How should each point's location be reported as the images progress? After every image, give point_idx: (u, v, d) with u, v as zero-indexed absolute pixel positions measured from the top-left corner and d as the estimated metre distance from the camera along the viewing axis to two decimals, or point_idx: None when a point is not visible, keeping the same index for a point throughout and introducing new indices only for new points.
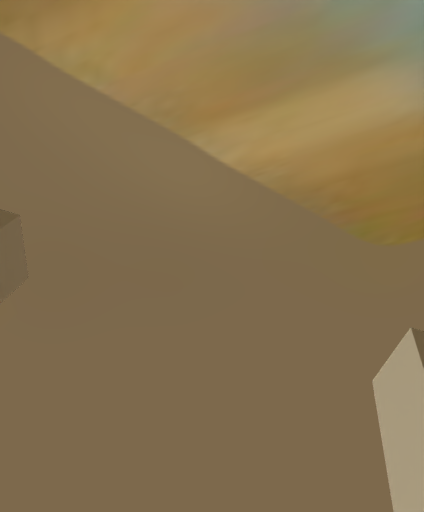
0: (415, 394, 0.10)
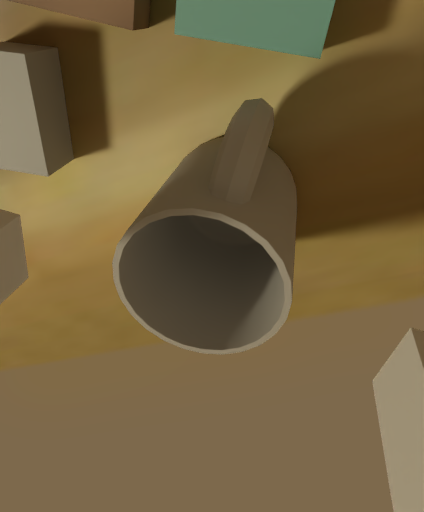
0: (415, 394, 0.10)
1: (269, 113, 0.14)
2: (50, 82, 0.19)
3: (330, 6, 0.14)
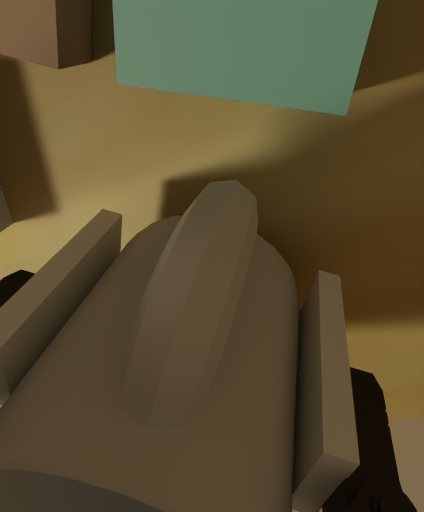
0: (312, 321, 0.12)
1: (244, 227, 0.07)
2: None
3: (363, 34, 0.08)
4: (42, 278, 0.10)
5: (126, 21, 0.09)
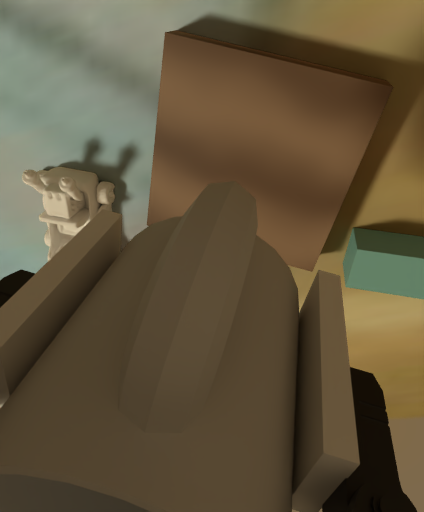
0: (312, 321, 0.12)
1: (243, 229, 0.07)
2: None
3: None
4: (42, 278, 0.10)
5: (356, 270, 0.24)
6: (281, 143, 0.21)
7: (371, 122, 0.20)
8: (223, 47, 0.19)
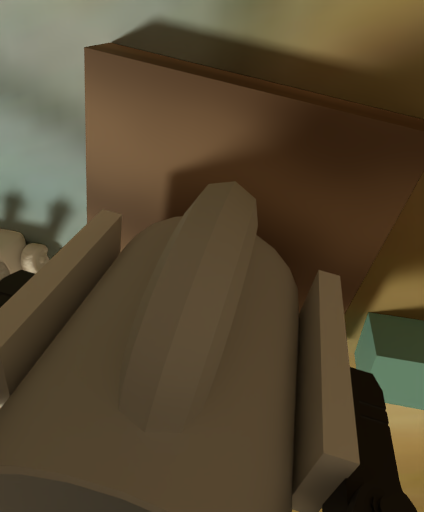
0: (312, 321, 0.12)
1: (243, 229, 0.07)
2: None
3: None
4: (42, 278, 0.10)
5: None
6: (267, 210, 0.14)
7: (405, 186, 0.13)
8: (174, 71, 0.12)
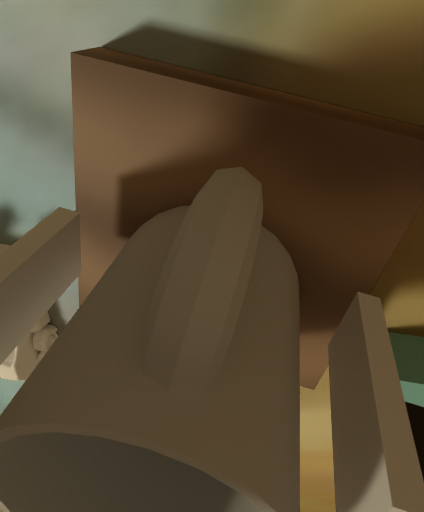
0: (355, 348, 0.11)
1: (253, 207, 0.08)
2: None
3: None
4: None
5: None
6: (266, 224, 0.14)
7: (412, 200, 0.12)
8: (166, 78, 0.12)
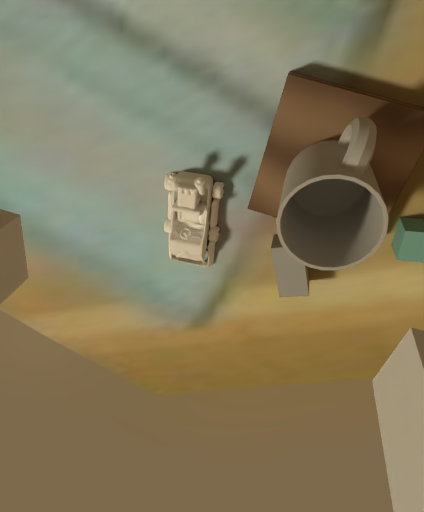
0: (415, 394, 0.10)
1: (375, 125, 0.25)
2: None
3: None
4: None
5: (404, 246, 0.33)
6: None
7: None
8: (327, 85, 0.29)
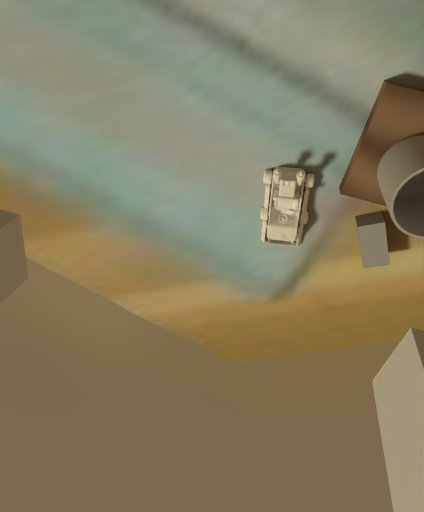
0: (415, 394, 0.10)
1: None
2: None
3: None
4: None
5: None
6: None
7: None
8: (420, 91, 0.36)
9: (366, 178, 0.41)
